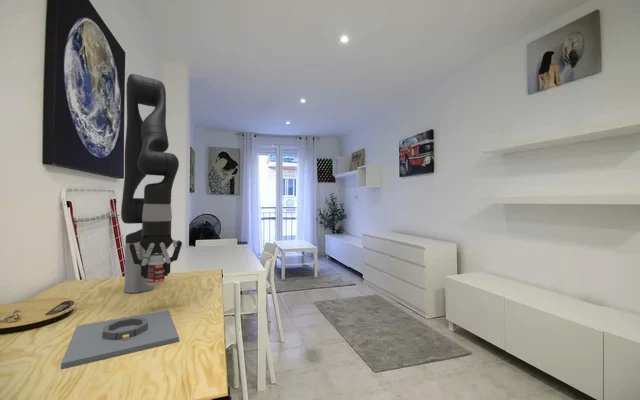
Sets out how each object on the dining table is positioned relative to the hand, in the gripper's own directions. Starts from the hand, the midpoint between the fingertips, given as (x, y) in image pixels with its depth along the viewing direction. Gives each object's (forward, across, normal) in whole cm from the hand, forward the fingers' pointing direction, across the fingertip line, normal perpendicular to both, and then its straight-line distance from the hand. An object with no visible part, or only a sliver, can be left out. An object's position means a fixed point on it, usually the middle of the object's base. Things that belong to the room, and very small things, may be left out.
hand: (155, 276), depth 84 cm
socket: (+9, +7, +16) cm, 20 cm away
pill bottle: (+2, 0, 0) cm, 2 cm away
